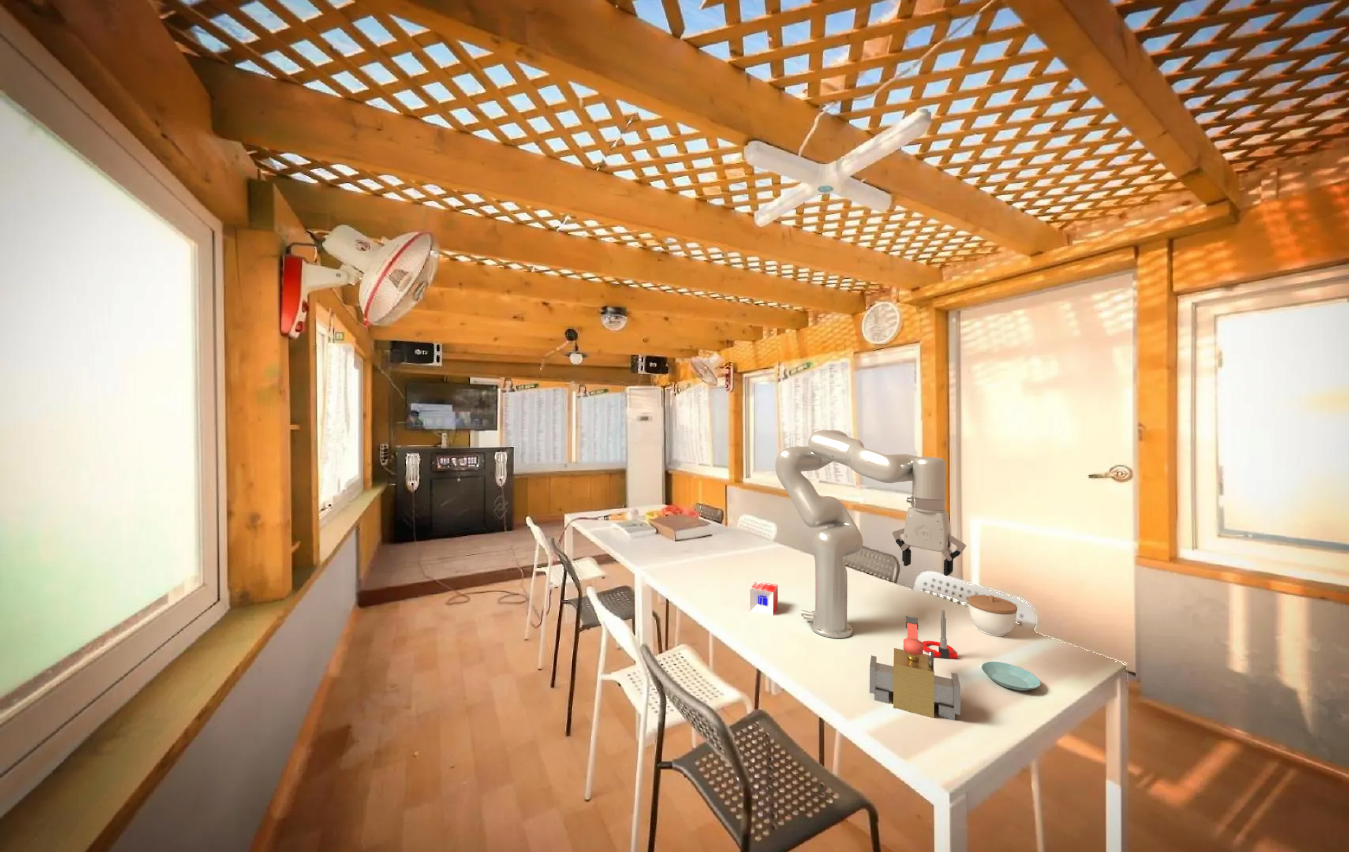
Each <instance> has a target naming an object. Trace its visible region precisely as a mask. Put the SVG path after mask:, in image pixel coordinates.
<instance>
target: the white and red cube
mask: <svg viewBox="0 0 1349 852" xmlns="http://www.w3.org/2000/svg"><path fill="white" fill-rule="evenodd" d="M753 583H754V584H752V585H751V587H750V588H749V612H751V611H752V612H751V613H758V614H762V613H764V614H763V615H769V616H774V615H775V613H776V611H777V609H778V608H777V607H779V603H778V602H779V601H778V599H779V585H778V584H776V583H769V582H761V581H755V582H753Z"/></svg>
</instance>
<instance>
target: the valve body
mask: <svg viewBox="0 0 1349 852" xmlns="http://www.w3.org/2000/svg"><path fill="white" fill-rule="evenodd" d="M934 662H935V657H934V652H933V651H929V652H928V654H926V653H923V654H922V655H913V654H909V653H907V652H905V651H904V649H901V648H896V647H894V648H893V665H891V664H890V665H889V664H885V663H881V662H877V656H875V655H871V656H870V662H869V693H870V694H873V696H874V697H873V700H874V701H877V702H880V703H885V704H890V703H889V700H890V699H889V698H890V692H893V696H892V698H893V699H892V700H893V701H892V704H893V705H892V707H893V709H898V710H902V711H905V712H908V713H909V712H910V713H913V714H917V715H922V716H925V717H929V718H933V719H934V718H935V703H937V704H936V705H937V711H938V712H937V713H938V714H937V715H938V716H939V717H940V718H945V719H949V720H953V721H955V720H956V715H958V716H961V703H962V702H961V700H962V699H961V696H962V695H961V694H962V693H961V691H962V690H961V683H960V679H959V675H958V673H957V672H951V673H950V678H948V677H944V676H941V675H940V676H939V675H935V668H934V666H935V663H934Z"/></svg>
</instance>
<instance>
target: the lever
mask: <svg viewBox="0 0 1349 852" xmlns="http://www.w3.org/2000/svg"><path fill="white" fill-rule="evenodd" d="M905 629H906V632H907V633H906V638H903V645H902V646H903V649H902V650H904V651H905V652H907V653H909V654H913V655H922V654H924V650H923V643H922V642H923V641H921V640H919V635H918V633H919V618H918V617H915V616H909V615H905Z"/></svg>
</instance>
